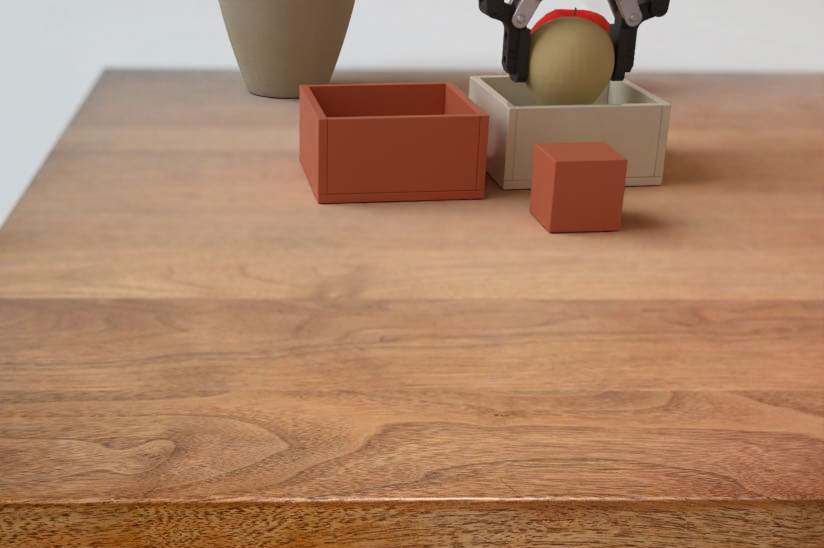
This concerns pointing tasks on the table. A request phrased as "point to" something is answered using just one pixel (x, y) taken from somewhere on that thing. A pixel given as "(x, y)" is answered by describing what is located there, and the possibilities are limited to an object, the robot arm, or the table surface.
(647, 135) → the cream bin
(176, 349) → the table surface
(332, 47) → the plant pot
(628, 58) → the robot arm
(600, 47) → the light bulb
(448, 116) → the terracotta bin
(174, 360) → the table surface
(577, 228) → the terracotta block
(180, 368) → the table surface
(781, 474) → the table surface
